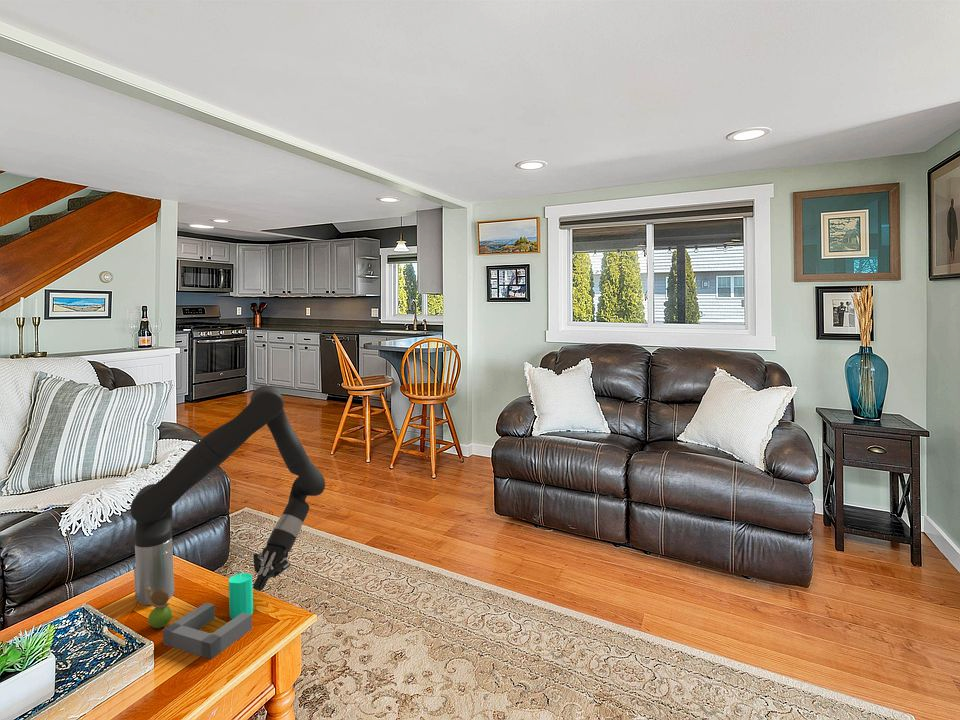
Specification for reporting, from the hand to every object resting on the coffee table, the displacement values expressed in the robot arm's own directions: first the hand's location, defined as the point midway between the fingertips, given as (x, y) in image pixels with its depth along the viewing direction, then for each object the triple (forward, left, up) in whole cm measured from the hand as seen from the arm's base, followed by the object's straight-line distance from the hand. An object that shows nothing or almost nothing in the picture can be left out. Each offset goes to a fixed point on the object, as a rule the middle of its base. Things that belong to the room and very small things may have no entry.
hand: (256, 589), depth 149 cm
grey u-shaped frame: (0, -17, -4) cm, 17 cm away
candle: (0, -6, -4) cm, 7 cm away
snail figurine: (-16, -18, -4) cm, 25 cm away
